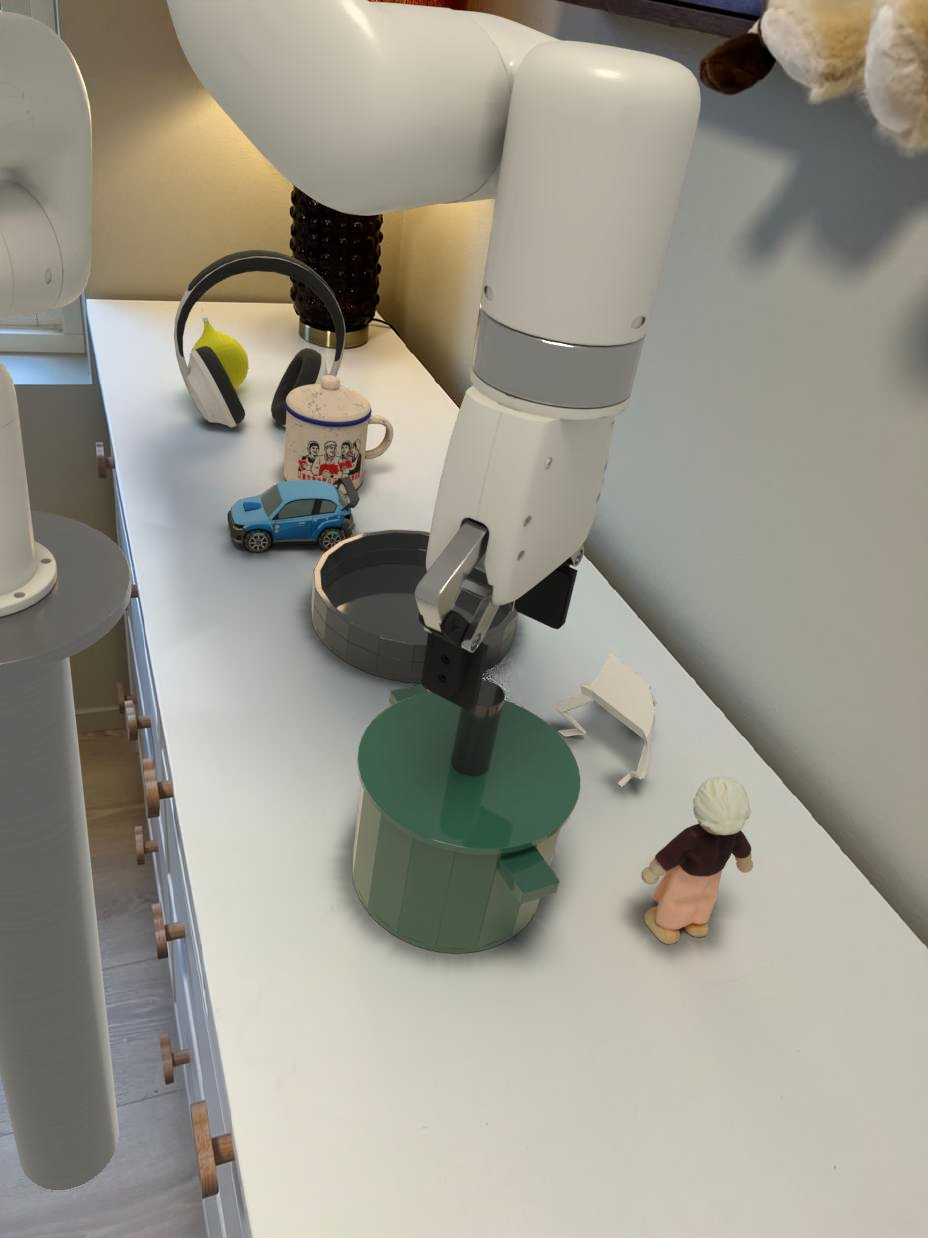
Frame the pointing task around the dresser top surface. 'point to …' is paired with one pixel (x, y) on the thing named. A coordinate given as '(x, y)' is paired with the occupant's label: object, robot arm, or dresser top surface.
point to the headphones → (205, 367)
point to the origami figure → (618, 705)
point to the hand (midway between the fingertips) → (496, 654)
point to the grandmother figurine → (699, 861)
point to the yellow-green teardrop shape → (225, 352)
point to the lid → (469, 773)
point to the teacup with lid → (329, 433)
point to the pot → (445, 882)
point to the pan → (388, 605)
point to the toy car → (294, 515)
